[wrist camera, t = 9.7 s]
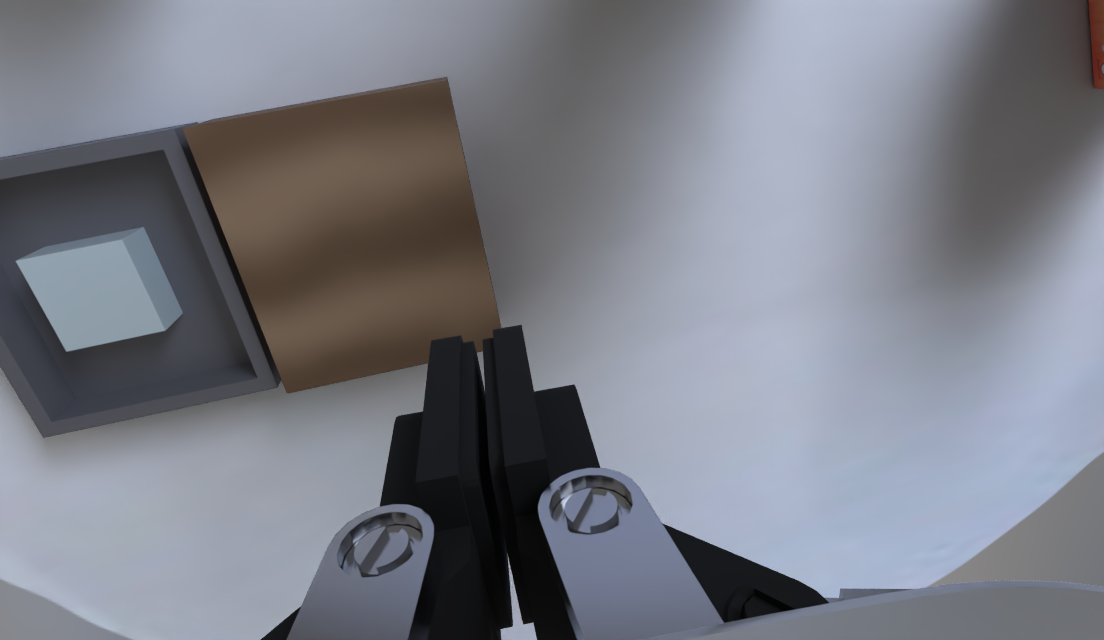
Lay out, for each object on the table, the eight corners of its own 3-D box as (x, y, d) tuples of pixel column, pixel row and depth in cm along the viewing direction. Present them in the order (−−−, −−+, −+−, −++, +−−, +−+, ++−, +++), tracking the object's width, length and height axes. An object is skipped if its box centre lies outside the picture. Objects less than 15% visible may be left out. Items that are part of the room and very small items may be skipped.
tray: (-63, 169, 31) (-113, 180, 28) (197, 122, 31) (173, 128, 29) (73, 408, 36) (43, 437, 34) (289, 363, 37) (277, 387, 35)
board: (212, 119, 32) (182, 128, 28) (446, 77, 32) (447, 80, 29) (302, 360, 37) (287, 393, 34) (499, 318, 38) (504, 346, 35)
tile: (121, 239, 30) (143, 226, 33) (15, 260, 30) (44, 246, 32) (165, 330, 32) (183, 313, 35) (66, 351, 32) (90, 332, 34)
